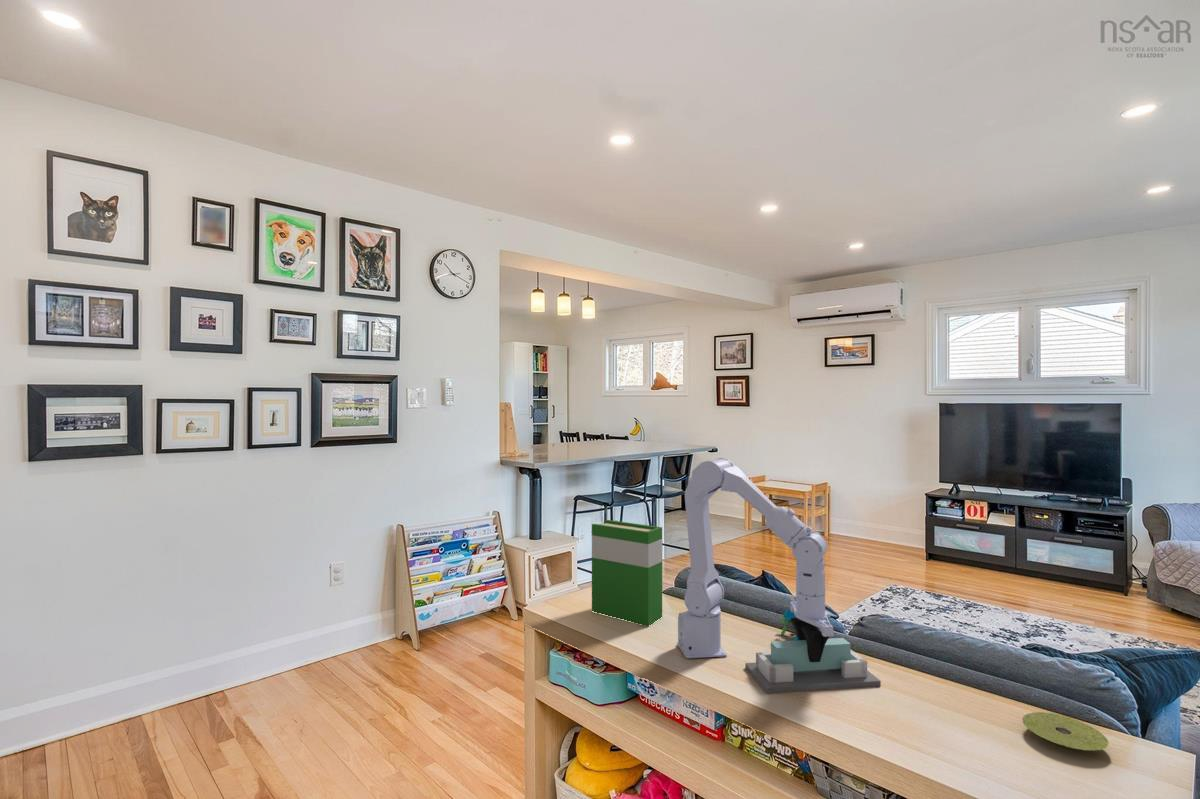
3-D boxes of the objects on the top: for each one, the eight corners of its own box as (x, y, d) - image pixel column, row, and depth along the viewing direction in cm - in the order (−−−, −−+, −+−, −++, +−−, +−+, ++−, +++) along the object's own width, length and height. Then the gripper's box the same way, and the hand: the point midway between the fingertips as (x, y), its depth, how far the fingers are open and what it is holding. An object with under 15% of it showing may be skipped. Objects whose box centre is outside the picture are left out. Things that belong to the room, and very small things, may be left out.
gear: (834, 636, 136) (810, 610, 133) (824, 658, 133) (800, 633, 131) (796, 627, 146) (774, 603, 143) (787, 647, 143) (764, 624, 140)
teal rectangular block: (777, 672, 117) (777, 648, 117) (770, 666, 120) (770, 642, 120) (850, 667, 119) (850, 643, 119) (842, 661, 122) (842, 637, 122)
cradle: (766, 693, 112) (766, 672, 112) (745, 667, 123) (745, 649, 123) (880, 685, 115) (880, 665, 115) (850, 661, 126) (849, 643, 126)
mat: (1111, 741, 96) (1111, 729, 96) (1105, 771, 88) (1105, 758, 88) (1029, 715, 104) (1028, 704, 104) (1016, 741, 96) (1016, 729, 97)
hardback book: (591, 612, 156) (591, 524, 156) (606, 604, 162) (606, 519, 162) (648, 627, 146) (648, 532, 146) (662, 618, 152) (662, 527, 152)
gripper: (847, 603, 113) (848, 672, 113) (811, 580, 127) (811, 642, 127) (813, 604, 112) (814, 674, 112) (781, 581, 126) (781, 643, 126)
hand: (810, 657), depth 119 cm, fingers closed on teal rectangular block, 3 cm apart
